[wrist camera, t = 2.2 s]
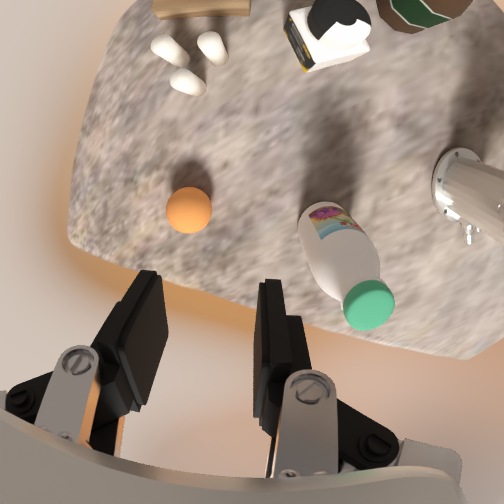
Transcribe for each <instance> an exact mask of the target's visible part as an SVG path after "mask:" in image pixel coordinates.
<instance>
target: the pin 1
mask: <svg viewBox="0 0 504 504" xmlns="http://www.w3.org/2000/svg"><path fill="white" fill-rule="evenodd" d="M151 50H152V51H153V52H154V53H155V54H157V55H159V56H160V57H162V58H164V59H165V60H167V61H168V62H170V63H171V64H173V65H174V66H176V67H184V66H186V65H187V64H188V63H189V61H190V56H189V54H188V53H187V52H186V51H185V50H184V49H183V48H182V47H181V46H180V45H179V44H178V43H176V42H175V41H174V40H173V39H172V38H171V37H170V36H168V35H159V36H157V37H156V38H155V39H154V40H153V41H152V43H151Z"/></svg>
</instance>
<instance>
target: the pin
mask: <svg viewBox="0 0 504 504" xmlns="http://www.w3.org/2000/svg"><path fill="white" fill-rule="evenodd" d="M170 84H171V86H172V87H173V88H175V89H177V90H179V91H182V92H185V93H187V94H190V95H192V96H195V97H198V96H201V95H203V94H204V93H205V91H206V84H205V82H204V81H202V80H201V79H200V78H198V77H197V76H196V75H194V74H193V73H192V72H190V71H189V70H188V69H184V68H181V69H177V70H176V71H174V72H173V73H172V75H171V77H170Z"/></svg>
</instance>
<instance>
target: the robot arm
mask: <svg viewBox="0 0 504 504" xmlns="http://www.w3.org/2000/svg"><path fill="white" fill-rule="evenodd" d="M432 195H433V200H434V203H435V206H436V208H437V210H438V211H439V212H440V214H441V215H442V216H444V217H445V218H446V219H448V220H450V221H453V222H461V224H462V227H463V228H464V241H465V243H467V244H471V243H473V242H474V234H473V226H475V231H481V230H482V231H483V232H485V233H486V234H488V235H489V236H491V237H492V238H493V239H495V240H496V241H498V242H499V243H500V244H502V245H503V246H504V171H503V170H500V169H498V168H495V167H492V166H489V165H486V164H484V163H482V162H481V160H480V158H479V157H478V156H477V155H476V154H475V153H474V152H473V151H471V150H469V149H467V148H462V147H456V148H453V149H451V150H449V151H447V152H446V153H445V154H444V155H443V156H442V157H441V159H440V160H439V162H438V164H437V166H436V168H435V171H434V175H433V181H432ZM167 338H168V324H167V317H166V309H165V302H164V294H163V285H162V277H161V275H157V272H156V271H149V270H141V271H140V272H139V274H138V275H137V277H136V278H135V280H134V281H133V283H132V284H131V286H130V288H129V289H128V291H127V292H126V294H125V295H124V297H123V299H122V300H121V301H119V302H117V303H116V305H115V306H114V308H113V310H112V311H111V313H110V314H109V316H108V317H107V319H106V321H105V322H104V324H103V326H102V327H101V329H100V331H99V332H98V334H97V336H96V337H95V339H94V341H93V343H92V344H91V346H90V347H89V346H84V345H77V346H74V347H71V348H69V349H67V350H66V351H64V352H63V353H62V354H61V356H60V358H59V359H58V362H57V364H56V366H55V369H54V371H52V372H49V373H46V374H44V375H41V376H39V377H36V378H33V379H31V380H28V381H26V382H23V383H20V384H18V385H16V386H14V387H13V388H12V389H11V390H10V391H9V392H8V393H7V391H0V504H468V502H467V499H466V497H465V495H464V493H463V491H462V489H461V487H460V485H459V483H460V477H461V471H462V460H461V458H460V455H459V454H458V453H457V452H456V451H454V450H451V449H447V448H443V447H438V446H434V445H429V444H425V443H421V442H417V441H413V440H410V439H406V438H405V439H404V440H403V441H402V440H398V439H397V437H396V436H395V434H394V433H393V432H391V431H390V430H389V429H388V428H386V427H384V426H382V425H381V424H379V423H377V422H375V421H374V420H372V419H370V418H368V417H367V416H365V415H363V414H362V413H360V412H358V411H357V410H355V409H353V408H352V407H350V406H348V405H347V404H345V403H344V402H342V401H340V400H339V399H337V397H336V388H335V384H334V383H333V381H332V380H331V379H330V378H329V377H328V376H327V375H326V374H324V373H322V372H320V371H315V370H312V367H311V362H310V357H309V352H308V347H307V342H306V337H305V333H304V327H303V322H302V318H301V316H293V315H286V310H285V304H284V297H283V290H282V284H281V280H278V279H265V283H261V282H260V283H259V292H258V302H257V313H256V323H255V332H254V371H253V372H254V373H253V374H254V376H253V377H254V378H253V379H254V380H253V381H254V382H253V384H254V385H253V387H254V388H253V417H254V418H259V426H262V430H263V431H265V432H266V433H267V434H269V435H270V436H271V438H270V444H269V451H268V457H267V463H266V469H265V475H264V478H243V477H242V478H241V477H225V476H213V475H205V474H196V473H189V472H182V471H176V470H170V469H165V468H160V467H155V466H150V465H145V464H141V463H137V462H133V461H129V460H125V459H121V458H120V453H121V444H122V436H123V428H124V421H125V415H126V414H128V413H129V412H130V410H131V411H136V412H140V409H141V406H142V405H146V403H147V401H148V397H149V394H150V391H151V388H152V384H153V381H154V378H155V375H156V372H157V369H158V366H159V363H160V360H161V357H162V354H163V350H164V347H165V345H166V342H167Z"/></svg>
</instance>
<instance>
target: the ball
mask: <svg viewBox="0 0 504 504" xmlns="http://www.w3.org/2000/svg"><path fill="white" fill-rule="evenodd" d="M211 214H212V206H211V202H210V199H209V198H208V196H207V195H206V194H205V193H204V192H203V191H201V190H200V189H197V188H194V187H185V188H181V189H179V190H177V191H176V192H174V193H173V194H172V195H171V197H170V198H169V200H168V202H167V206H166V215H167V219H168V221H169V223H170V224H171V225H172V227H174V228H175V229H176V230H178V231H180V232H183V233H194V232H197V231H200V230H201V229H203V228H204V227H205V226H206V225H207V223H208V222H209V220H210V218H211Z"/></svg>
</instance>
